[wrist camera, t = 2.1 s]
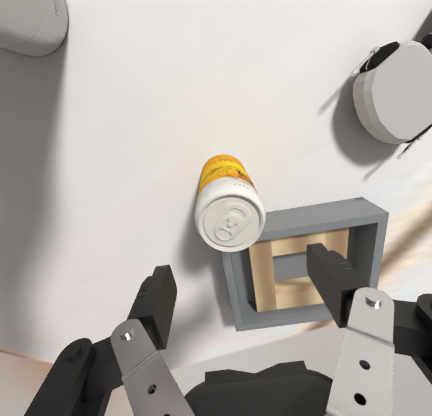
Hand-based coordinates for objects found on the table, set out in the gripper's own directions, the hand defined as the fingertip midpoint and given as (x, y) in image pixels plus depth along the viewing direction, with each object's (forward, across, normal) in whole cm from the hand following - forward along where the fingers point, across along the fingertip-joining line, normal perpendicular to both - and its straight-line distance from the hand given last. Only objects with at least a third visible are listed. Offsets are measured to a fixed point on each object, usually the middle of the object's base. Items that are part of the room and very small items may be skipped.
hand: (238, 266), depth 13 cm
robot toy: (+21, -24, -8) cm, 33 cm away
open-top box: (+20, -9, +16) cm, 27 cm away
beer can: (+20, 0, 0) cm, 20 cm away
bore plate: (+19, -9, +16) cm, 27 cm away
